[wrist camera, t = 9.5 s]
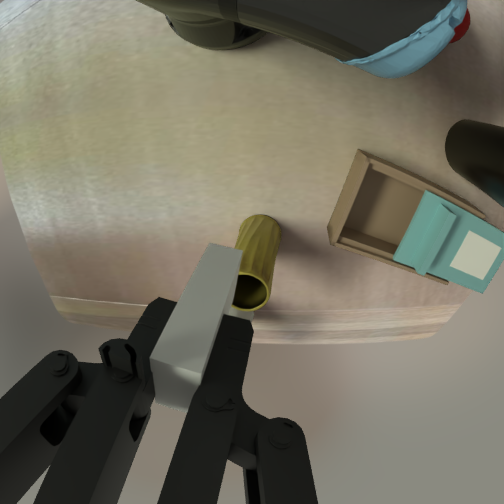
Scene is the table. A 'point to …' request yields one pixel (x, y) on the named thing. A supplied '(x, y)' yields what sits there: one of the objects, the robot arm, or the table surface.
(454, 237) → the lid
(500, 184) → the water bottle
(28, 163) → the table surface
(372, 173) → the wooden sliding-lid box
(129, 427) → the robot arm
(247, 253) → the vase
